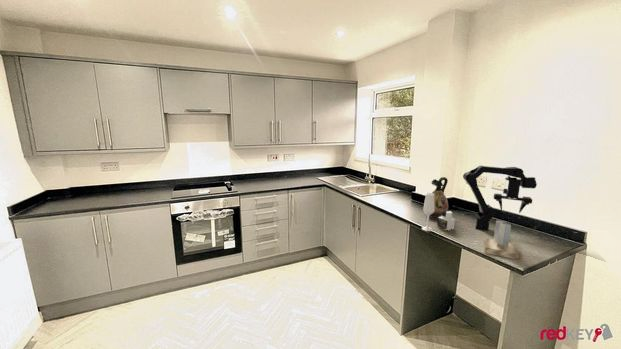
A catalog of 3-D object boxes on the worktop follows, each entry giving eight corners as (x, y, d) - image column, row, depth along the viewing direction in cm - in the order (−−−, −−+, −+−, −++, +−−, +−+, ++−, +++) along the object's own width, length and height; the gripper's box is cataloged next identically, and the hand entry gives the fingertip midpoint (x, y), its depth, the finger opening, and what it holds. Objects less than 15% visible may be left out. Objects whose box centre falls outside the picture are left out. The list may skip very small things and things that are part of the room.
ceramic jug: (434, 220, 182) (437, 179, 177) (420, 213, 197) (422, 175, 191) (454, 218, 186) (458, 178, 181) (439, 211, 201) (442, 174, 195)
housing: (496, 246, 136) (499, 223, 134) (493, 242, 141) (496, 220, 139) (507, 247, 135) (511, 224, 133) (503, 243, 140) (507, 221, 137)
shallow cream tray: (484, 252, 136) (485, 247, 136) (484, 242, 148) (484, 237, 147) (517, 259, 129) (518, 254, 128) (514, 248, 141) (515, 243, 140)
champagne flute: (434, 229, 167) (438, 194, 163) (429, 232, 163) (432, 195, 159) (425, 226, 172) (428, 191, 168) (419, 228, 169) (422, 193, 164)
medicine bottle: (437, 227, 171) (438, 210, 169) (444, 225, 174) (446, 208, 172) (446, 231, 165) (448, 213, 162) (454, 229, 167) (455, 211, 165)
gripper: (531, 186, 161) (527, 210, 163) (494, 183, 171) (491, 205, 173) (534, 190, 151) (530, 215, 154) (495, 186, 161) (492, 210, 164)
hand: (510, 211), depth 162 cm, fingers open, 9 cm apart
